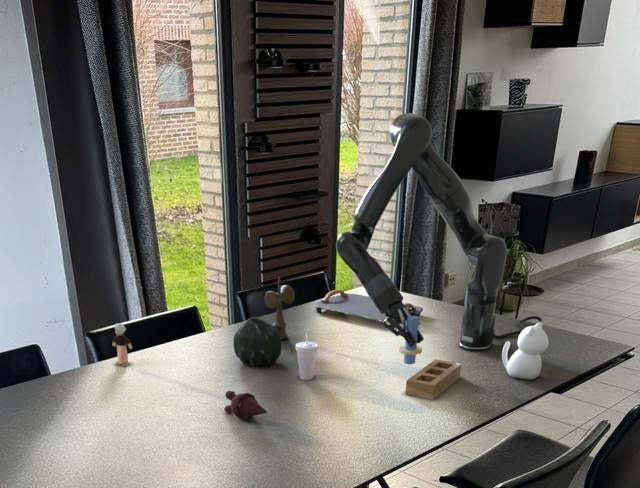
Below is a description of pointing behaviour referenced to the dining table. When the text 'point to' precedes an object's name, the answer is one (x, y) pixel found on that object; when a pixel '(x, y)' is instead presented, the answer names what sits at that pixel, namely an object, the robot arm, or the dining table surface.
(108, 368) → the dining table surface
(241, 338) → the squash
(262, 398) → the dining table surface
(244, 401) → the red gnome figurine
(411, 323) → the peg
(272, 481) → the dining table surface
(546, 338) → the cat figurine
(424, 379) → the rack
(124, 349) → the grandmother figurine
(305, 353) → the smoothie
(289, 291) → the kendama
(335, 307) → the serving tray
